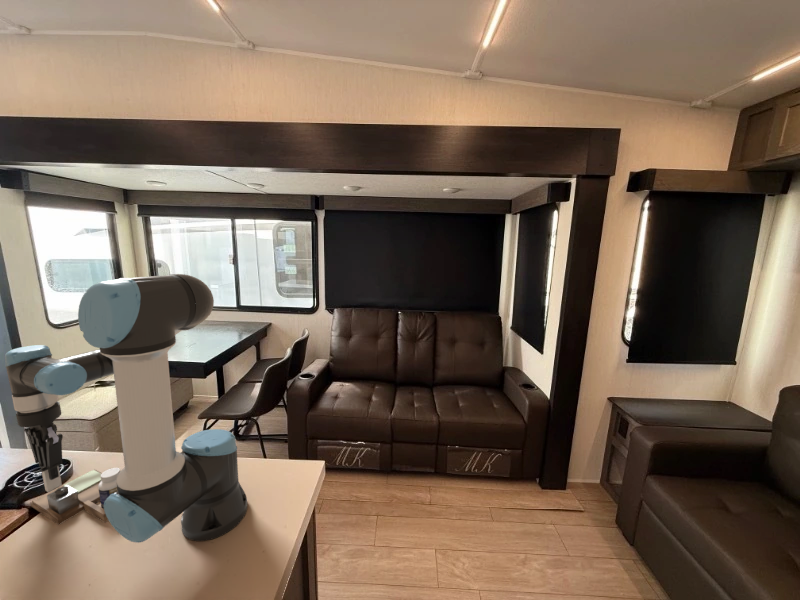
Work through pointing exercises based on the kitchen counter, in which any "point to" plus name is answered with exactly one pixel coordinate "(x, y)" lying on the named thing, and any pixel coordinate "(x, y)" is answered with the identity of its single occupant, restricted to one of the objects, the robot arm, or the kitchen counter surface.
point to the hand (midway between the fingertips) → (53, 487)
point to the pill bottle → (108, 484)
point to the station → (86, 495)
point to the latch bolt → (63, 499)
